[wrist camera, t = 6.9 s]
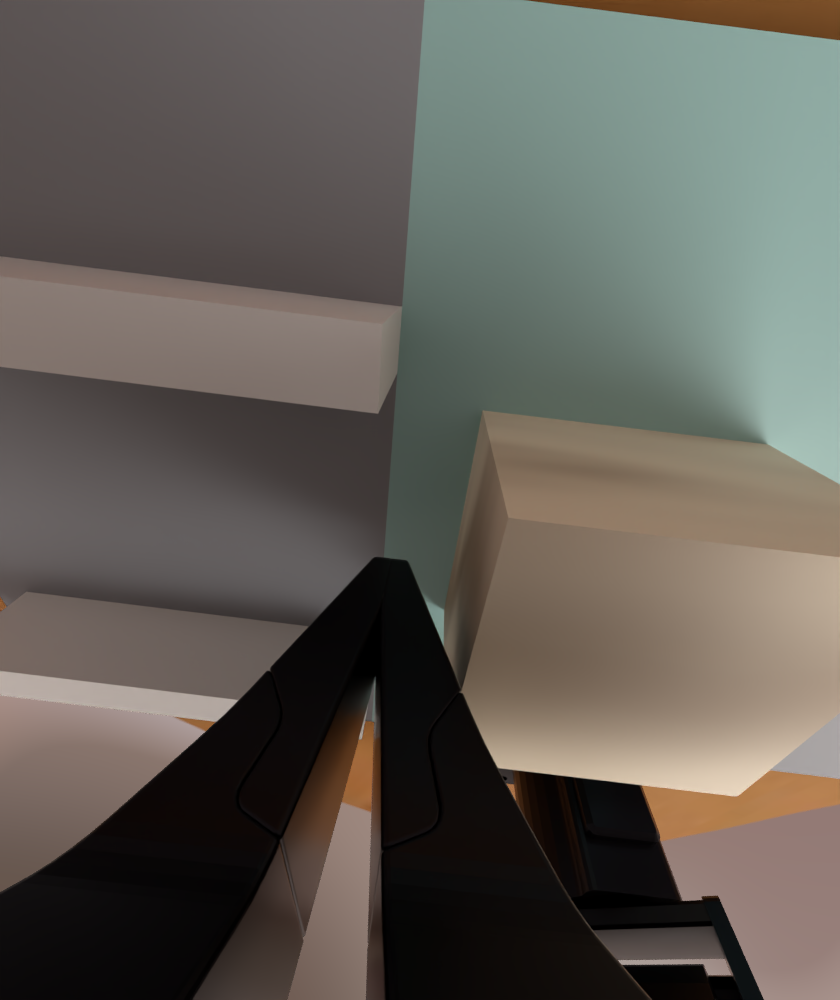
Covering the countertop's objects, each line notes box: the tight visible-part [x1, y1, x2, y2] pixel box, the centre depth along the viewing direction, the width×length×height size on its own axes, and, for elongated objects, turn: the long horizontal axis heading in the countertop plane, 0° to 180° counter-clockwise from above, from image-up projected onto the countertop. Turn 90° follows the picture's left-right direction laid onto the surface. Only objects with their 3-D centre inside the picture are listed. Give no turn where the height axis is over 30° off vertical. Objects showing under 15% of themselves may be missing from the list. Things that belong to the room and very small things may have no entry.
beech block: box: [444, 410, 840, 796], centre depth 8 cm, size 6×6×4 cm
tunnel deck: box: [0, 0, 840, 779], centre depth 10 cm, size 18×32×6 cm, turn 84°
